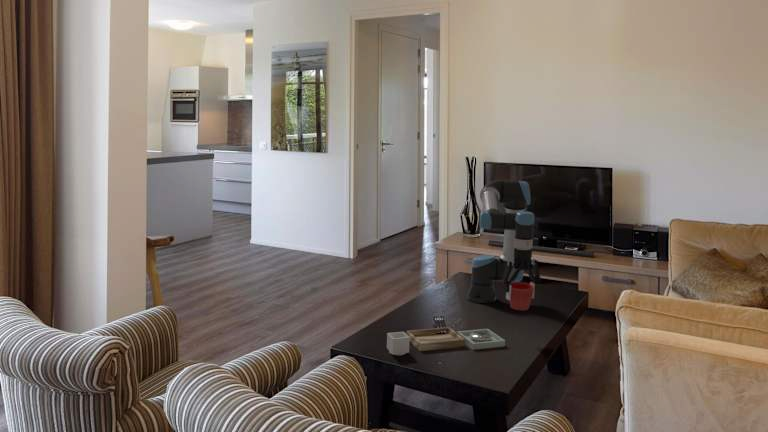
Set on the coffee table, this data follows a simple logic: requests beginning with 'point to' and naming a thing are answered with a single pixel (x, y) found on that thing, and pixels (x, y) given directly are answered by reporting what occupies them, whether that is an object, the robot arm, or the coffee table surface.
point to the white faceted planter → (398, 343)
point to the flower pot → (521, 296)
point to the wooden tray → (435, 339)
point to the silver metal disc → (480, 336)
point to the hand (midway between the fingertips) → (519, 298)
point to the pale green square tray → (476, 344)
